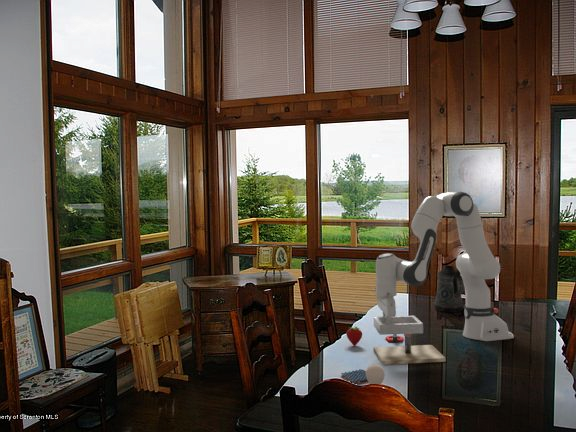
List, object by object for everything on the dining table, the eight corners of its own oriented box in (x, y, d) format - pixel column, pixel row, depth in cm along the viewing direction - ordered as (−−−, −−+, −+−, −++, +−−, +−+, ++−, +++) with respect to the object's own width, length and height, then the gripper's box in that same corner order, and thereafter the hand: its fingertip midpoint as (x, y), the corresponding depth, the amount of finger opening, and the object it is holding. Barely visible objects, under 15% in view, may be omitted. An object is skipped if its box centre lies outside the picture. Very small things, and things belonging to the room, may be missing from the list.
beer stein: (439, 304, 310) (438, 263, 308) (472, 308, 298) (471, 265, 297) (429, 310, 296) (428, 267, 295) (463, 314, 285) (462, 269, 284)
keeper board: (431, 348, 227) (431, 323, 227) (445, 361, 209) (445, 334, 209) (373, 350, 227) (372, 325, 226) (382, 364, 209) (381, 337, 208)
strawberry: (348, 342, 240) (348, 321, 239) (364, 344, 236) (363, 322, 236) (344, 346, 234) (343, 324, 234) (360, 348, 231) (359, 326, 231)
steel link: (414, 324, 226) (414, 315, 225) (423, 333, 213) (423, 323, 212) (373, 325, 225) (373, 316, 225) (379, 334, 212) (379, 325, 212)
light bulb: (364, 393, 180) (363, 362, 180) (382, 391, 181) (381, 361, 180) (368, 400, 174) (367, 368, 173) (387, 399, 174) (386, 367, 174)
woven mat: (354, 387, 187) (354, 381, 187) (339, 377, 197) (339, 372, 197) (378, 382, 192) (378, 376, 192) (363, 373, 201) (362, 368, 201)
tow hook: (385, 337, 247) (385, 342, 238) (384, 311, 247) (385, 314, 238) (403, 338, 246) (404, 342, 237) (402, 311, 246) (403, 315, 237)
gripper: (399, 295, 213) (399, 328, 214) (388, 286, 234) (388, 316, 234) (384, 296, 213) (384, 329, 214) (374, 287, 234) (375, 317, 234)
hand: (386, 322), depth 224 cm, fingers closed on steel link, 2 cm apart
